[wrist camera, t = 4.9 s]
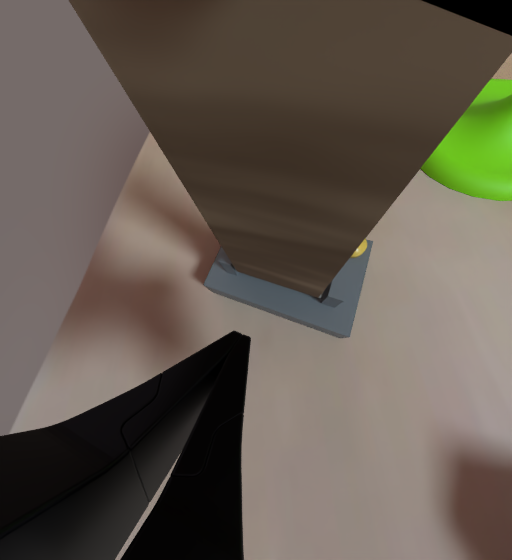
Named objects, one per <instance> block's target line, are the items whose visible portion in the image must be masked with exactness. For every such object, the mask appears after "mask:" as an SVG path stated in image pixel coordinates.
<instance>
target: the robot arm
mask: <svg viewBox="0 0 512 560" xmlns="http://www.w3.org/2000/svg"><path fill="white" fill-rule="evenodd" d="M250 342H251V338H250V337H249V336H246V335H242V334H241V333H239V332H236V331H232V332H231V333H229V334H227V335H225V336H224V337H222V338H220V339H219V340H217V341H215V342H213V343H212V344H210V345H208V346H207V347H205V348H203V349H201V350H200V351H198V352H196V353H195V354H193V355H191V356H190V357H188V358H186V359H184V360H183V361H181V362H179V363H178V364H176V365H174V366H172V367H171V368H169V369H167V370H166V371H164V372H163V373H160V374H159V375H157V376H155V377H153V378H152V379H150V380H148V381H146V382H145V383H143V384H141V385H139V386H137V387H135V388H133V389H131V390H129V391H127V392H125V393H123V394H121V395H119V396H117V397H115V398H113V399H111V400H109V401H107V402H105V403H103V404H101V405H98V406H96V407H94V408H92V409H90V410H88V411H86V412H84V413H82V414H80V415H77V416H75V417H73V418H71V419H69V420H66V421H63V422H61V423H58V424H55V425H52V426H48V427H45V428H40V429H36V430H30V431H25V432H20V433H14V434H9V435H4V436H0V560H115V558H116V557H117V555H118V553H119V552H120V550H121V549H122V547H123V545H124V544H125V542H126V541H127V539H128V537H129V536H130V534H131V532H132V531H133V529H134V528H135V526H136V524H137V523H138V521H139V519H140V518H141V516H142V515H143V513H144V511H145V510H146V508H147V507H148V505H149V502H150V501H151V500H152V498H153V497H154V495H155V493H156V492H157V490H158V489H159V487H160V485H161V484H162V482H163V480H164V479H165V477H166V476H167V474H168V472H169V471H170V469H171V467H172V466H173V464H174V463H175V461H176V459H177V458H178V456H179V454H180V453H181V454H180V456H179V458H178V460H177V463H176V465H175V467H174V469H173V471H172V473H171V477H170V478H169V479H168V481H167V483H166V486H165V487H164V489H163V491H162V493H161V495H160V497H159V499H158V501H157V503H156V504H155V506H154V508H153V509H152V511H151V512H150V514H149V516H148V517H147V519H146V520H145V522H144V523H143V525H142V527H141V528H140V530H139V531H138V533H137V534H136V536H135V538H134V539H133V541H132V542H131V544H130V545H129V547H128V549H127V550H126V552H125V553H124V555H123V556H122V558H121V559H120V560H244V553H243V526H242V474H241V444H242V428H243V417H244V415H243V414H244V406H245V395H246V384H247V374H248V363H249V353H250ZM181 451H182V452H181Z"/></svg>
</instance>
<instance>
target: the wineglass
mask: <svg viewBox="0 0 512 560" xmlns="http://www.w3.org/2000/svg"><path fill="white" fill-rule="evenodd" d="M421 169H422V170H423V171H424V172H425V173H426V174H427V175H428V176H429V177H431V178H432V179H434V180H436V181H438V182H439V183H441V184H443V185H444V186H446V187H448V188H450V189H453V190H456V191H459V192H461V193H464V194H467V195H470V196H473V197H479V198H485V199H492V200H498V201H511V200H512V80H505V79H490V81H489V82H488V83H487V84H486V86H485V87H484V88H483V89H482V91H481V92H480V93H479V95H478V96H477V97H476V98H475V100H474V101H473V102H472V103H471V105H470V106H469V107H468V108H467V110H466V111H465V112H464V114H463V115H462V116H461V117H460V119H459V120H458V121H457V122H456V124H455V125H454V126H453V128H452V129H451V130H450V131H449V133H448V134H447V135H446V136H445V138H444V139H443V140H442V142H441V143H440V144H439V145H438V147H437V148H436V149H435V150H434V152H433V153H432V154H431V155H430V157H429V158H428V159H427V161H426V162H425V163H424V164H423V166H422V167H421Z"/></svg>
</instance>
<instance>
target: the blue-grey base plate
mask: <svg viewBox="0 0 512 560" xmlns="http://www.w3.org/2000/svg"><path fill="white" fill-rule="evenodd" d="M372 244H373V241H370V240H366V239H364V241H363V242H362V243H361V244H360V246H359V247H358V248H357V249H356V251H355V252H354V253H353V255H352V256H351V257H350V258H349V260H348V261H347V262H346V263H345V265H344V266H343V267H342V268H341V270H340V271H339V272H338V274H337V275H336V276H335V277H334V279H333V280H332V281H331V282H330V284H329V285H328V286H327V288H326V289H325V290H324V292H323V294H322V297H321V298H317V297H314V296H311V295H308V294H305V293H302V292H298V291H295V290H292V289H289V288H286V287H283V286H280V285H277V284H274V283H271V282H268V281H265V280H262V279H259V278H255V277H252V276H249V275H246V274H243V273H240V272H237V271H236V269H235V267H234V266H233V264H232V263H231V261H230V259H229V258H228V256H227V255H226V253H225V251H224V250H223V248H222V246H221V248H220V250H219V252H218V254H217V257H216V259H215V261H214V263H213V265H212V267H211V269H210V272H209V274H208V276H207V278H206V280H205V282H204V286H205V287H207V288H208V289H209V290H211V291H212V292H214V293H216V294H219V295H222V296H225V297H227V298H230V299H233V300H236V301H238V302H241V303H244V304H247V305H249V306H252V307H255V308H258V309H260V310H263V311H266V312H269V313H272V314H274V315H277V316H280V317H283V318H285V319H288V320H291V321H294V322H296V323H299V324H302V325H305V326H307V327H310V328H313V329H316V330H318V331H321V332H324V333H327V334H330V335H332V336H335V337H338V338H347V337H350V333H351V329H352V325H353V321H354V317H355V313H356V309H357V305H358V301H359V297H360V293H361V288H362V284H363V280H364V276H365V272H366V268H367V264H368V260H369V256H370V252H371V248H372Z"/></svg>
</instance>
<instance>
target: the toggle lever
mask: <svg viewBox="0 0 512 560" xmlns="http://www.w3.org/2000/svg"><path fill="white" fill-rule="evenodd" d="M69 2H70V3H71V5H72V6H73V8H74V10H75V11H76V13H77V14H78V16H79V18H80V19H81V21H82V22H83V24H84V25H85V27H86V29H87V31H88V32H89V34H90V35H91V37H92V39H93V40H94V42H95V43H96V45H97V46H98V48H99V50H100V51H101V53H102V54H103V56H104V58H105V59H106V61H107V63H108V64H109V66H110V67H111V69H112V71H113V72H114V74H115V76H116V77H117V79H118V80H119V82H120V83H121V85H122V87H123V88H124V90H125V92H126V93H127V95H128V96H129V98H130V100H131V101H132V103H133V105H134V106H135V108H136V109H137V111H138V113H139V114H140V116H141V117H142V119H143V121H144V122H145V124H146V126H147V127H148V129H149V130H150V132H151V134H152V135H153V137H154V138H155V140H156V142H157V143H158V145H159V147H160V148H161V150H162V151H163V153H164V155H165V156H166V158H167V159H168V161H169V163H170V164H171V166H172V167H173V169H174V171H175V172H176V174H177V176H178V177H179V179H180V180H181V182H182V184H183V185H184V187H185V188H186V190H187V192H188V193H189V195H190V196H191V198H192V200H193V201H194V203H195V205H196V206H197V208H198V209H199V211H200V213H201V214H202V216H203V217H204V219H205V221H206V222H207V224H208V226H209V227H210V229H211V230H212V232H213V234H214V235H215V237H216V238H217V240H218V242H219V243H220V245H221V246H222V248H223V250H224V251H225V253H226V255H227V256H228V258H229V259H230V261H231V263H232V264H233V266H234V267H235V269H236V271H237V272H240V273H243V274H246V275H249V276H252V277H255V278H259V279H262V280H265V281H268V282H271V283H274V284H277V285H280V286H283V287H286V288H289V289H292V290H295V291H298V292H302V293H305V294H308V295H311V296H314V297H317V298H321V297H322V294H323V292H324V290H325V289H326V288H327V286H328V285H329V284H330V282H331V281H332V280H333V279H334V277H335V276H336V275H337V274H338V272H339V271H340V270H341V268H342V267H343V266H344V265H345V263H346V262H347V261H348V260H349V258H350V257H351V256H352V255H353V253H354V252H355V251H356V249H357V248H358V247H359V246H360V244H361V243H362V242H363V241H364V239H365V238H366V237H367V235H368V234H369V233H370V232H371V230H372V229H373V228H374V227H375V225H376V224H377V223H378V221H379V220H380V219H381V218H382V216H383V215H384V214H385V213H386V211H387V210H388V209H389V208H390V206H391V205H392V204H393V202H394V201H395V200H396V199H397V197H398V196H399V195H400V194H401V192H402V191H403V190H404V188H405V187H406V186H407V185H408V183H409V182H410V181H411V180H412V178H413V177H414V176H415V175H416V173H417V172H418V171H419V169H420V168H421V167H422V166H423V164H424V163H425V162H426V161H427V159H428V158H429V157H430V155H431V154H432V153H433V152H434V150H435V149H436V148H437V147H438V145H439V144H440V143H441V142H442V140H443V139H444V138H445V136H446V135H447V134H448V133H449V131H450V130H451V129H452V128H453V126H454V125H455V124H456V122H457V121H458V120H459V119H460V117H461V116H462V115H463V114H464V112H465V111H466V110H467V108H468V107H469V106H470V105H471V103H472V102H473V101H474V100H475V98H476V97H477V96H478V95H479V93H480V92H481V91H482V89H483V88H484V87H485V86H486V84H487V83H488V82H489V81H490V79H491V78H492V77H493V75H494V74H495V73H496V72H497V70H498V69H499V68H500V67H501V65H502V64H503V63H504V62H505V60H506V59H507V58H508V56H509V55H510V54H511V53H512V0H69Z"/></svg>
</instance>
